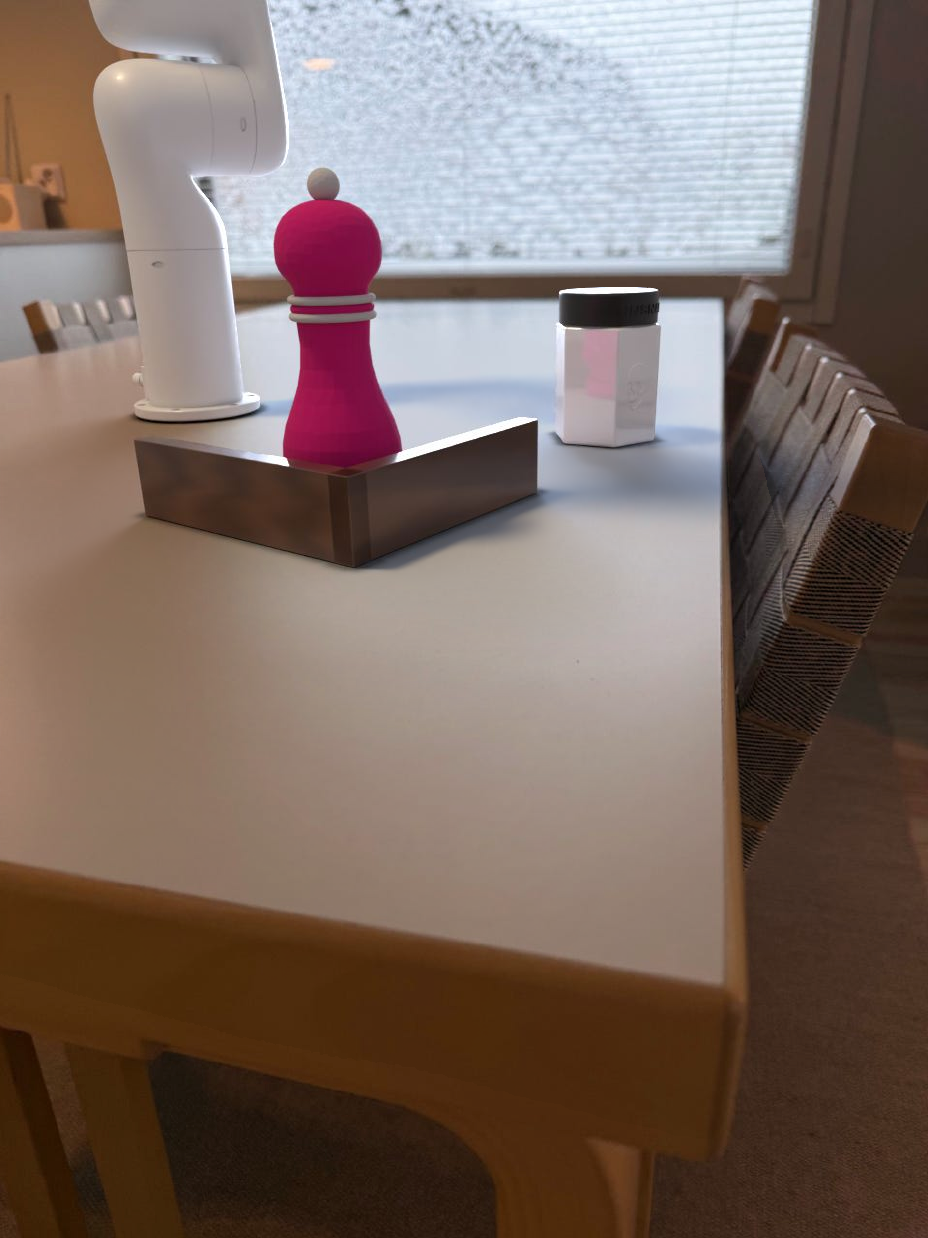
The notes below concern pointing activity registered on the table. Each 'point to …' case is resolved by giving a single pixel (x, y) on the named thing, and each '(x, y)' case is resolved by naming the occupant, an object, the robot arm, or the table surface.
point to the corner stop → (339, 491)
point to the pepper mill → (333, 330)
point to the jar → (607, 366)
